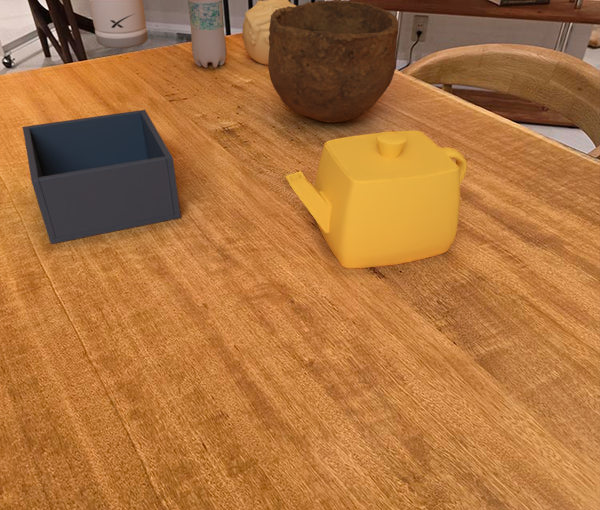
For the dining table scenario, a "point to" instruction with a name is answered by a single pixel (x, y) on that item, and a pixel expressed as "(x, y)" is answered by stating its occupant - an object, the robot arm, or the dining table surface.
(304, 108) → the bowl
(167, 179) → the box
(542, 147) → the dining table surface
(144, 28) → the travel mug
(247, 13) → the sculpture
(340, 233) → the teapot
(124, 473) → the dining table surface
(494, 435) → the dining table surface
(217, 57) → the bottle
